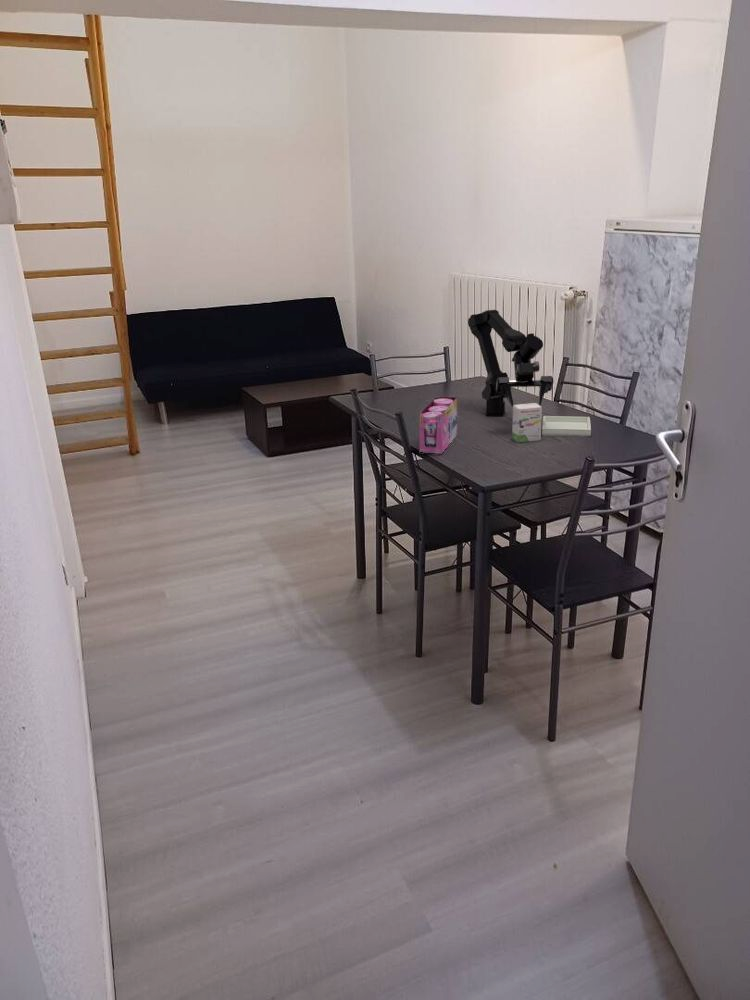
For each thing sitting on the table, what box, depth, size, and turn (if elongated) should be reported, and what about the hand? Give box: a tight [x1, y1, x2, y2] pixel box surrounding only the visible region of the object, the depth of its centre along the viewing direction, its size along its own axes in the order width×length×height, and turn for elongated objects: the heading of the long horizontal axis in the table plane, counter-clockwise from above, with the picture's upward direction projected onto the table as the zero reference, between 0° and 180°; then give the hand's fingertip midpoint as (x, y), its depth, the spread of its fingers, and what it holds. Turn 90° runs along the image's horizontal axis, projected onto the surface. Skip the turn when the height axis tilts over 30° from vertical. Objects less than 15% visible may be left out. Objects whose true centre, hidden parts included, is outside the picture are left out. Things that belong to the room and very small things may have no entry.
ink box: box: [511, 402, 543, 444], centre depth 252 cm, size 8×5×12 cm, turn 102°
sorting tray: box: [541, 415, 592, 438], centre depth 263 cm, size 16×16×2 cm
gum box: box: [418, 396, 458, 454], centre depth 251 cm, size 24×8×14 cm, turn 162°
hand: (526, 405), depth 254 cm, fingers open, 9 cm apart
